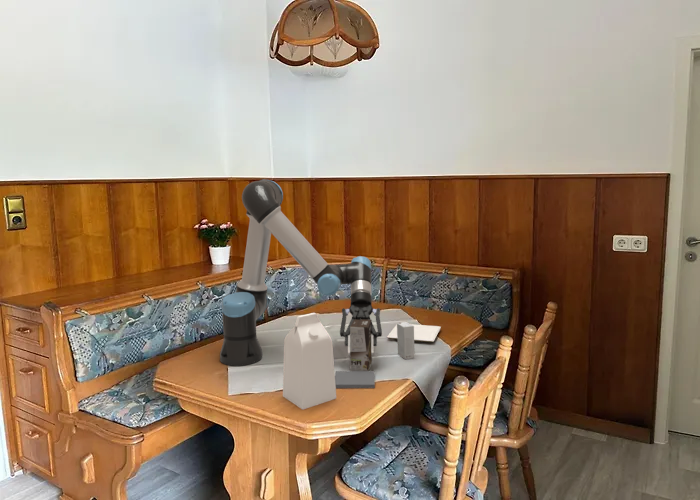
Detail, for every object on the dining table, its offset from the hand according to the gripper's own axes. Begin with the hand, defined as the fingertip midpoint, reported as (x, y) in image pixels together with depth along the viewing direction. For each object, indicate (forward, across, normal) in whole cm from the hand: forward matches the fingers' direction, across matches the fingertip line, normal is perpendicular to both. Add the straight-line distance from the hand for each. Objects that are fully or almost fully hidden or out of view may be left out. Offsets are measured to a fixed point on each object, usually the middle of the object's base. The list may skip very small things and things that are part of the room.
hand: (360, 354), depth 184 cm
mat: (+10, +2, +1) cm, 10 cm away
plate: (-22, -21, -31) cm, 44 cm away
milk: (+19, +15, +10) cm, 26 cm away
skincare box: (-6, -16, -15) cm, 23 cm away
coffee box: (+2, 0, -7) cm, 7 cm away
